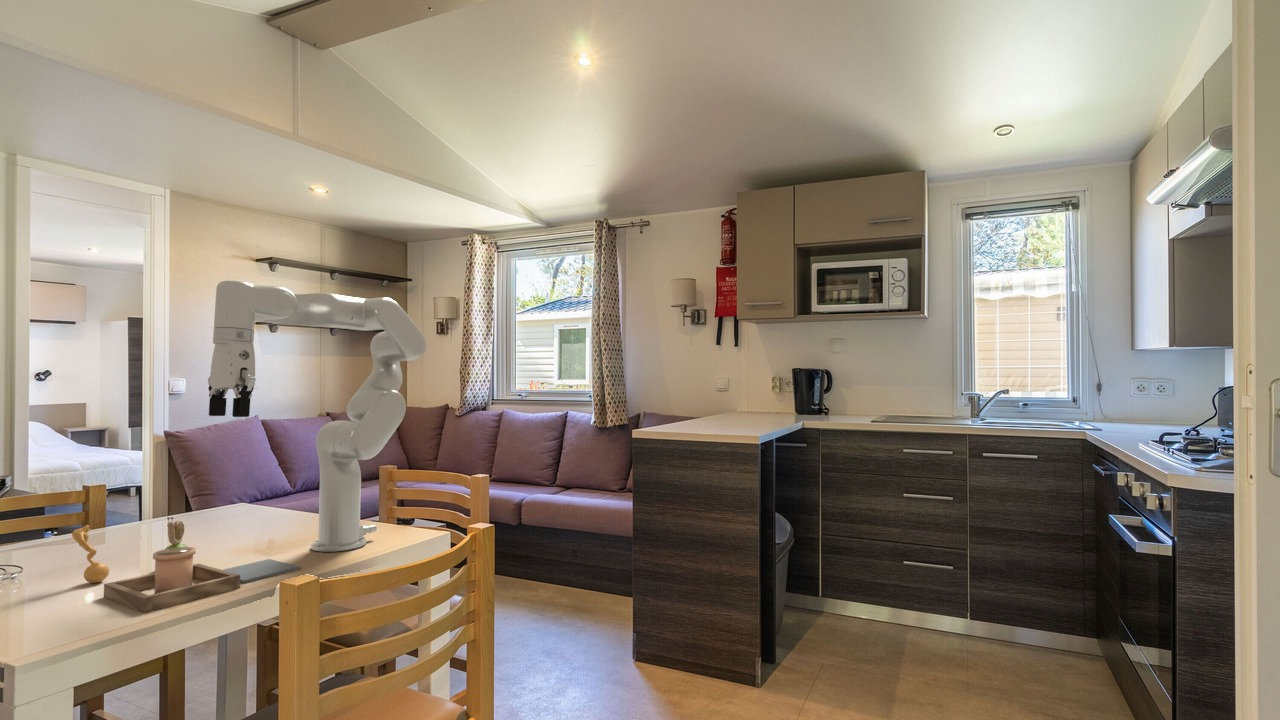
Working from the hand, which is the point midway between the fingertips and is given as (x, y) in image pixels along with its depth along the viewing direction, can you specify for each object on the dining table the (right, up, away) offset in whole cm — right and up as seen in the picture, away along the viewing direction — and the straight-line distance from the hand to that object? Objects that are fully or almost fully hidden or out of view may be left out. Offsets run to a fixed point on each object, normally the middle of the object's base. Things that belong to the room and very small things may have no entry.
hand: (228, 416), depth 138 cm
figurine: (-23, -34, -8) cm, 42 cm away
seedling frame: (-2, -33, -13) cm, 36 cm away
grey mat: (+6, -34, +1) cm, 34 cm away
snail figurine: (-14, -34, +3) cm, 37 cm away
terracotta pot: (-2, -33, -13) cm, 36 cm away
